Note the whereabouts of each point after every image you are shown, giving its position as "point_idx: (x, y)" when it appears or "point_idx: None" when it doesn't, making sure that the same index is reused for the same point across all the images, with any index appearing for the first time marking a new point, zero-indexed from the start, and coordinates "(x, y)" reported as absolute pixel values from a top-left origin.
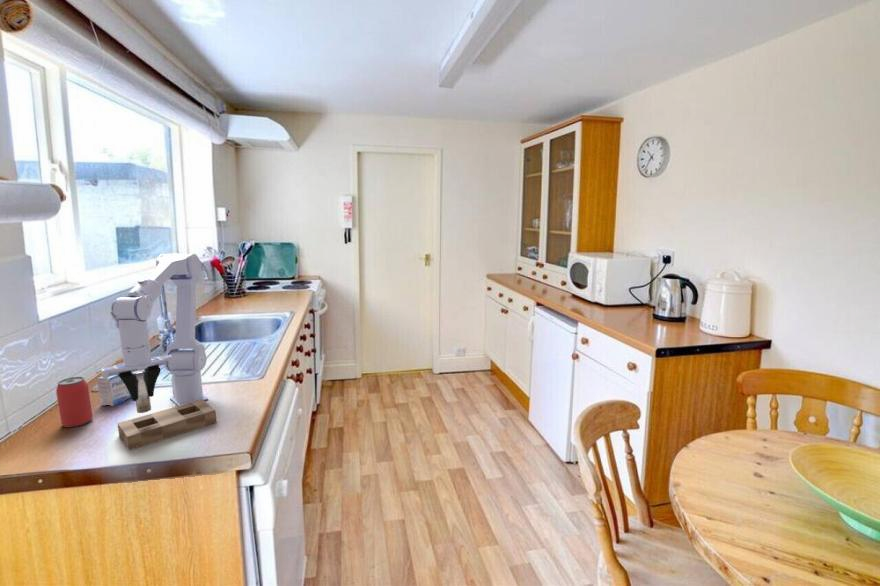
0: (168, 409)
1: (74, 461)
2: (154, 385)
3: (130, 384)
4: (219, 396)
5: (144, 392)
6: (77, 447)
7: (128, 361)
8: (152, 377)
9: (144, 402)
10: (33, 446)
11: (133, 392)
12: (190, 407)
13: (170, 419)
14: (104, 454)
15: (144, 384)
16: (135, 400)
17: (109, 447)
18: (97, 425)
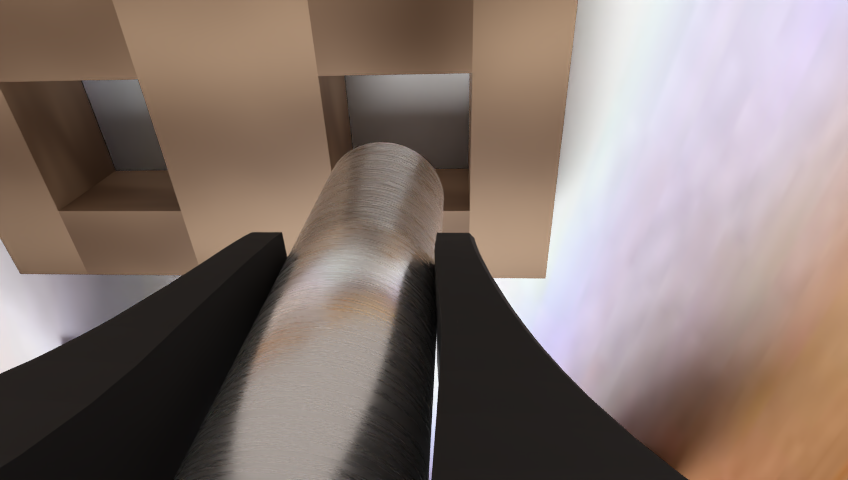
0: None
1: (843, 60)
2: (136, 304)
3: (520, 403)
4: (4, 345)
5: (321, 263)
6: (733, 243)
7: None
8: (11, 425)
9: (364, 191)
10: (837, 386)
11: (466, 292)
12: (93, 207)
13: (228, 71)
14: (688, 22)
15: (266, 363)
16: (450, 234)
17: (625, 112)
18: None
